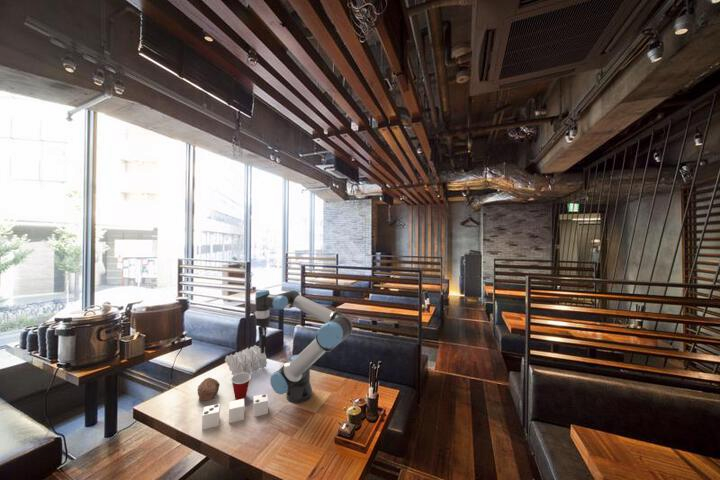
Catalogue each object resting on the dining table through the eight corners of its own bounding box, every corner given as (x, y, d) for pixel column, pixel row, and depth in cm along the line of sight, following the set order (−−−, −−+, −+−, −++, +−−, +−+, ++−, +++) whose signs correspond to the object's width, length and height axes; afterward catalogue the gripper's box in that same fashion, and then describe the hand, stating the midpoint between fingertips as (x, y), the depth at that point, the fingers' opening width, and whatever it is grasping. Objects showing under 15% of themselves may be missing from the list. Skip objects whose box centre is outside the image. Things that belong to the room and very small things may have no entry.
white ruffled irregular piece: (266, 374, 189) (233, 388, 167) (252, 357, 197) (220, 369, 176) (275, 353, 185) (243, 365, 164) (261, 337, 194) (229, 347, 173)
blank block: (243, 411, 142) (244, 398, 142) (243, 419, 136) (244, 406, 136) (229, 414, 139) (229, 401, 139) (228, 423, 133) (229, 409, 133)
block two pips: (266, 406, 147) (266, 393, 147) (267, 413, 140) (268, 400, 141) (253, 409, 144) (253, 396, 144) (253, 417, 138) (253, 403, 138)
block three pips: (219, 417, 137) (219, 403, 137) (218, 425, 131) (218, 411, 131) (203, 420, 134) (204, 406, 134) (202, 429, 128) (202, 415, 128)
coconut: (200, 392, 158) (200, 375, 158) (221, 389, 162) (221, 373, 162) (194, 405, 146) (194, 387, 146) (216, 402, 149) (217, 384, 149)
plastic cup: (236, 405, 146) (237, 384, 146) (226, 398, 153) (227, 377, 153) (254, 396, 155) (255, 376, 155) (244, 390, 162) (245, 370, 162)
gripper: (254, 315, 156) (254, 355, 156) (256, 320, 145) (256, 364, 144) (267, 313, 160) (267, 352, 159) (271, 319, 148) (270, 361, 148)
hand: (262, 357), depth 152 cm, fingers closed
